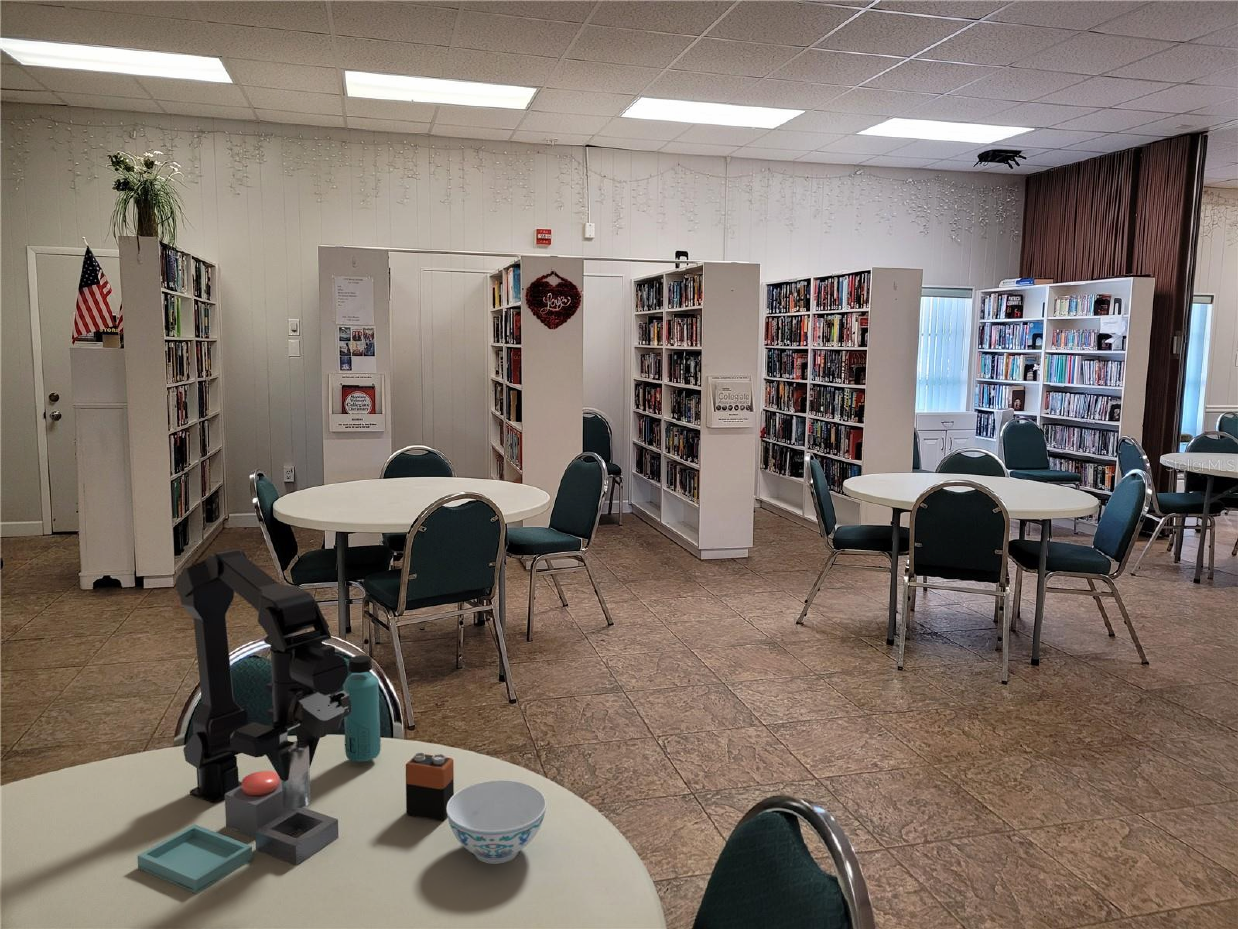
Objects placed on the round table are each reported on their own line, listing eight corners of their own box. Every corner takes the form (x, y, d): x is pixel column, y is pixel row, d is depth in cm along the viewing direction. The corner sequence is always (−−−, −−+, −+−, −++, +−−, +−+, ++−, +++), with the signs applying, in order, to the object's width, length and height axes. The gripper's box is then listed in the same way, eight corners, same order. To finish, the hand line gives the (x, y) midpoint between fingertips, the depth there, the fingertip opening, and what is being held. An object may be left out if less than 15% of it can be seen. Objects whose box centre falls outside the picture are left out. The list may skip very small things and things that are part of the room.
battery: (443, 822, 145) (442, 764, 143) (405, 816, 146) (404, 758, 145) (454, 809, 149) (454, 752, 147) (417, 803, 151) (417, 746, 149)
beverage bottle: (388, 757, 167) (386, 653, 164) (367, 773, 160) (365, 666, 158) (358, 751, 169) (356, 649, 166) (336, 766, 163) (333, 661, 160)
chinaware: (520, 890, 128) (521, 839, 126) (428, 868, 132) (427, 819, 131) (560, 835, 142) (561, 789, 141) (475, 817, 146) (475, 773, 145)
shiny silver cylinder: (276, 805, 136) (275, 749, 135) (297, 793, 140) (295, 738, 138) (296, 811, 134) (294, 755, 133) (316, 799, 138) (314, 744, 137)
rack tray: (138, 868, 131) (137, 855, 131) (195, 836, 139) (194, 824, 139) (196, 893, 125) (195, 880, 125) (252, 858, 134) (252, 846, 133)
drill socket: (255, 849, 136) (255, 831, 136) (298, 823, 144) (298, 805, 143) (296, 865, 132) (295, 846, 132) (338, 837, 140) (338, 819, 139)
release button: (234, 805, 143) (233, 782, 142) (262, 789, 148) (262, 768, 147) (259, 814, 140) (258, 791, 140) (287, 798, 145) (286, 776, 144)
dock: (226, 826, 142) (224, 794, 142) (266, 803, 149) (265, 772, 149) (257, 838, 139) (255, 805, 138) (297, 814, 146) (296, 782, 145)
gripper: (281, 709, 122) (285, 816, 125) (376, 666, 139) (378, 761, 141) (225, 693, 127) (230, 796, 130) (323, 654, 144) (326, 745, 146)
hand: (295, 774), depth 136 cm, fingers closed on shiny silver cylinder, 4 cm apart
